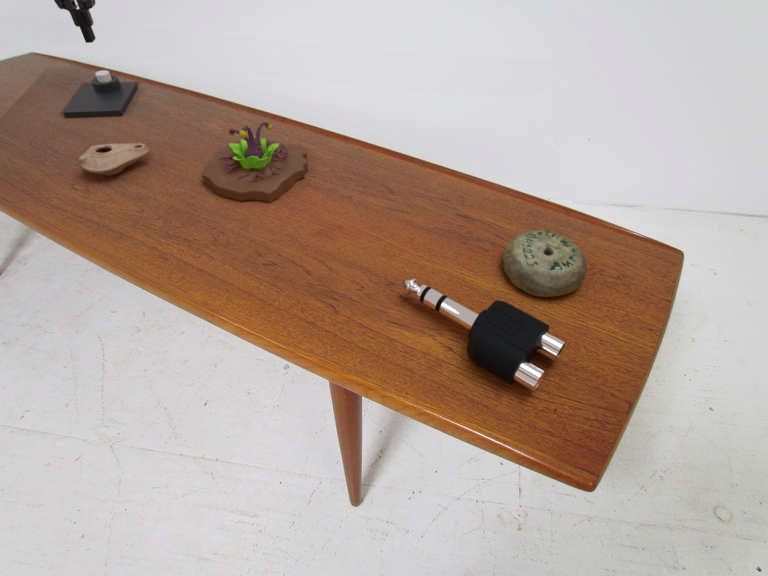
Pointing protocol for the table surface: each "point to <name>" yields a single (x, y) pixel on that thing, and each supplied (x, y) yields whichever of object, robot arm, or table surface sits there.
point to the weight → (544, 263)
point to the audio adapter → (497, 335)
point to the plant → (255, 167)
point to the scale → (101, 99)
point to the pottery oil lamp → (112, 157)
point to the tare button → (103, 76)
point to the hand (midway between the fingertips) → (90, 40)
